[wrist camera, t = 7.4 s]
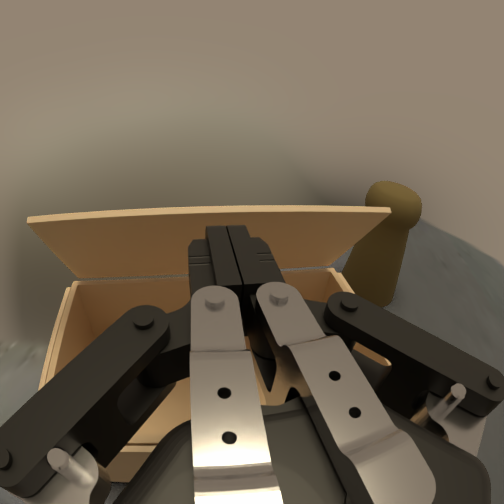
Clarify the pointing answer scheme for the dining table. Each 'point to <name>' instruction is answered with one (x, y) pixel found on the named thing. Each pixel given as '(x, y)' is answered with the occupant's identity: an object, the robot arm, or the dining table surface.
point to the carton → (168, 299)
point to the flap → (198, 235)
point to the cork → (383, 243)
